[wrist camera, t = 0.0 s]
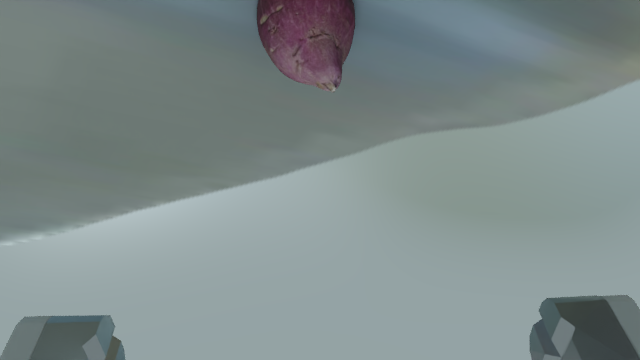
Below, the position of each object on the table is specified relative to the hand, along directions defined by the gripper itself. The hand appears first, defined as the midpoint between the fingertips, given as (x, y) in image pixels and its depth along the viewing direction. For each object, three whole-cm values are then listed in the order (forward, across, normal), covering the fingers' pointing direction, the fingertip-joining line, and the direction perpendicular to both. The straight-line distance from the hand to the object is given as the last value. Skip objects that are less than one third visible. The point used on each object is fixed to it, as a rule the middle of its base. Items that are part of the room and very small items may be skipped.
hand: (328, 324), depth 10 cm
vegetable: (+48, 0, +12) cm, 50 cm away
